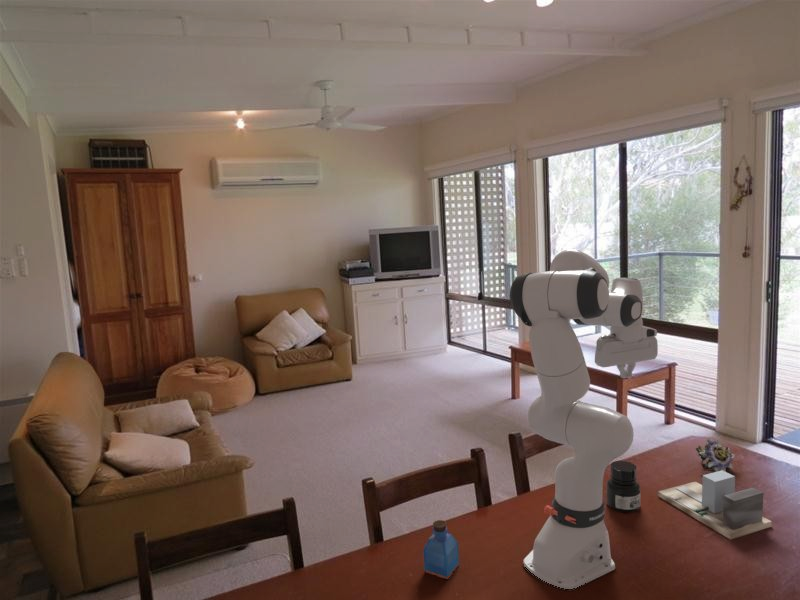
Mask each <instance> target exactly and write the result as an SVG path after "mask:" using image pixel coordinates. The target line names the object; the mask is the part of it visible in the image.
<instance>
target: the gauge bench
mask: <svg viewBox="0 0 800 600" xmlns="http://www.w3.org/2000/svg"><path fill="white" fill-rule="evenodd" d="M657 497H658V498H660V499H662V500H664V501H665V502H666V503H669V504H670V505H672V506H674V507H675V508H677V509H679V510H680V511H682V512H683V513H685V514H687V515H689V516H690V517H692V518H694V519H695V520H696V521H699V522H700V523H702V524H704V525H706V526H707V527H709V528H710V529H712V530H714V531H715V532H717V533H719V534H720V535H722V536H724V537H725V538H727V539H728V540H733V539H734V540H735V539H737V538H740V537H743V536H746V535H750V534H753V533H757V532H759V531H762V530H765V529H768V528H771V527H772V520H770V519H768V518H766V517H764V516H763V514H764V513H763V510H764V491H761V490H759V489H757V488H755V487H750V488H746V489H743V490H739V491H735V493H731V494H728V495H724V506H723V511H721V512H717V513H713V512H711V511H709V510H706V511H702V512H699V513H697V512H696V510H697V509H701V508H704V507H702V483H699V482H697V481H693V482H692V481H691V482H688V483H685V484H681V485H678V486H673V487H670V488H669V487H668V488H666V489H665V488H664V489H661V490H658V491H657Z"/></svg>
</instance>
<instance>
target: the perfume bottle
mask: <svg viewBox="0 0 800 600" xmlns="http://www.w3.org/2000/svg"><path fill="white" fill-rule="evenodd" d="M432 526H433V527H432V535H431V536H429V538H428V541H426V543H425V545H424V547H423V551H422V552H423V563H424V564H423V566H424V571H425V570H428V571H430V572H434V573H436V574H440V575H443V576H445V577H448V576H449V575H450V573H451V572H452V571H453V569H454V568H455V567H456V566H457V565H458V563H459V564H460V554H459V542H458V541H457V540H456V539H455V538H456V537H454V536H453V534H451V533H448V527H447V522H446V521H445V520H442V519H439V520H435V521H433V524H432Z"/></svg>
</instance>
